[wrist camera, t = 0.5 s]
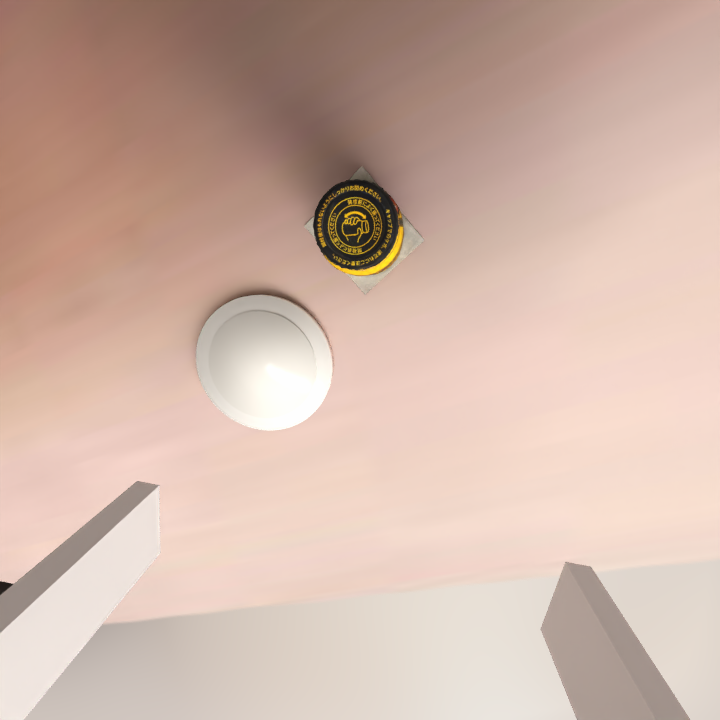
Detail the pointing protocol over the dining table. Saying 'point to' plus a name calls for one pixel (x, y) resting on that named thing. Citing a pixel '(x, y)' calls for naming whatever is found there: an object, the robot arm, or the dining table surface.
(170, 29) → the dining table surface
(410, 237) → the condiment
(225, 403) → the plate
